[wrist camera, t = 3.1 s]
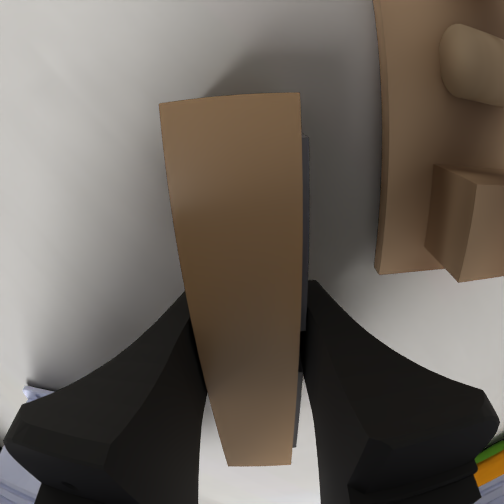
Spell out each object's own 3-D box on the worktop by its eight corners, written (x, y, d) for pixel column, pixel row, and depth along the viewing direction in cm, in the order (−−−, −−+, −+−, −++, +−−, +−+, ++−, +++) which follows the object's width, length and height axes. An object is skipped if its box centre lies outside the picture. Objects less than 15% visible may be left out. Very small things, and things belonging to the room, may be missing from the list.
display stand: (373, 266, 11) (405, 317, 8) (348, -107, 5) (370, -149, 2) (504, 254, 11) (544, 289, 8) (494, -58, 4) (534, -73, 2)
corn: (544, 479, 15) (386, 558, 19) (522, 436, 22) (378, 508, 26) (561, 456, 12) (376, 553, 16) (533, 407, 19) (366, 493, 23)
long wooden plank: (232, 397, 15) (227, 466, 11) (196, 103, 9) (158, 103, 5) (289, 394, 14) (295, 464, 11) (288, 98, 9) (311, 92, 5)
